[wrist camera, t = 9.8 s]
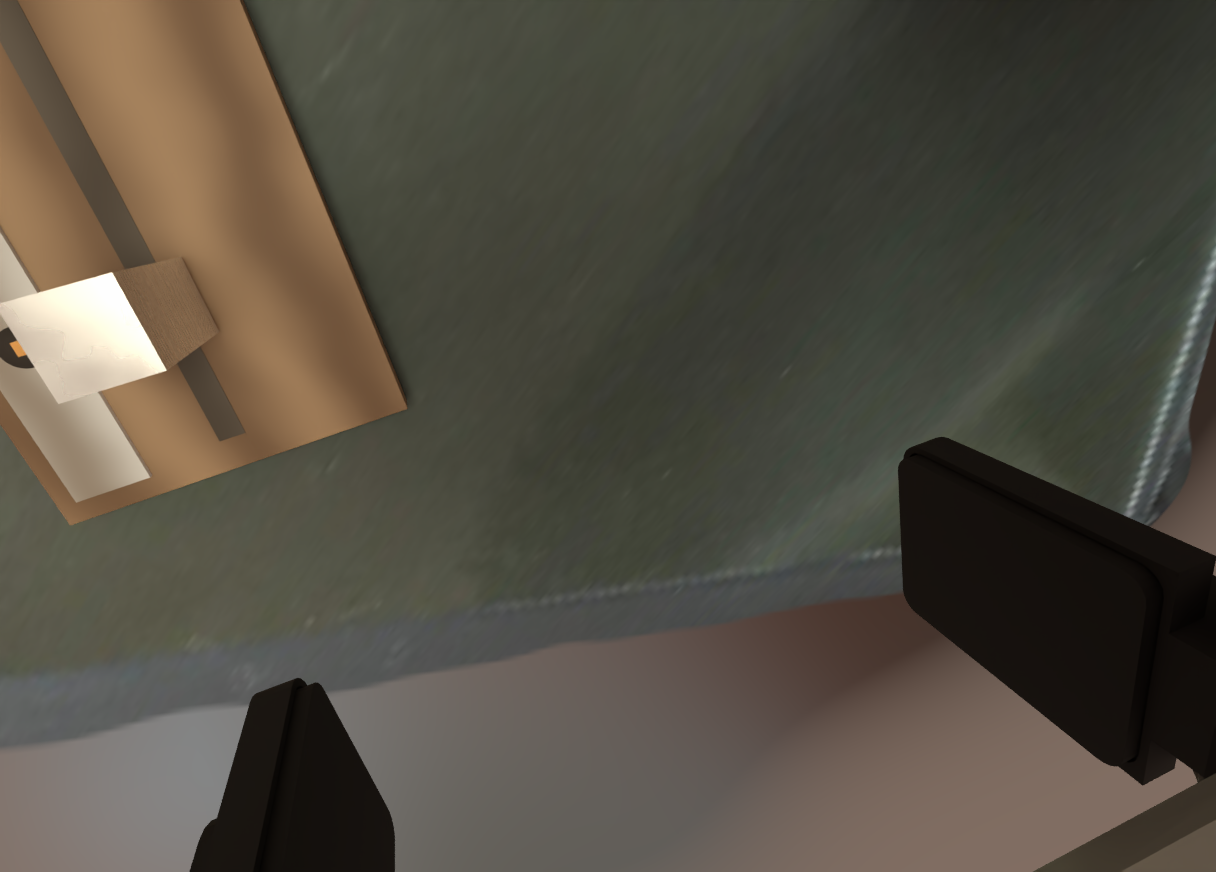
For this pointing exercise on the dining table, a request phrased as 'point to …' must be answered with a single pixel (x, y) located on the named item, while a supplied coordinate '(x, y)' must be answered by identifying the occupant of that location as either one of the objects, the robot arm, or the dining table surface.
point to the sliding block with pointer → (110, 327)
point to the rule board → (173, 246)
